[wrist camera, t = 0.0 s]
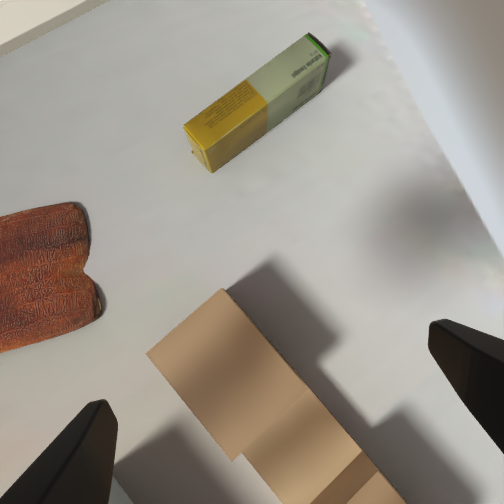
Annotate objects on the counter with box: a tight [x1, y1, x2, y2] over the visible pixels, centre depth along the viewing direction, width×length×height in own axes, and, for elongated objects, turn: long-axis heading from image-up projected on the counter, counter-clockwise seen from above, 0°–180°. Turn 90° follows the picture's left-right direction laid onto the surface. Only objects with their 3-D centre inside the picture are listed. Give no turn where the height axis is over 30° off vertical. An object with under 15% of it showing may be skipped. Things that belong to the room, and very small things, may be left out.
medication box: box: [183, 32, 331, 173], centre depth 24 cm, size 12×3×4 cm, turn 130°
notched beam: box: [146, 288, 408, 504], centre depth 20 cm, size 22×6×4 cm, turn 41°
